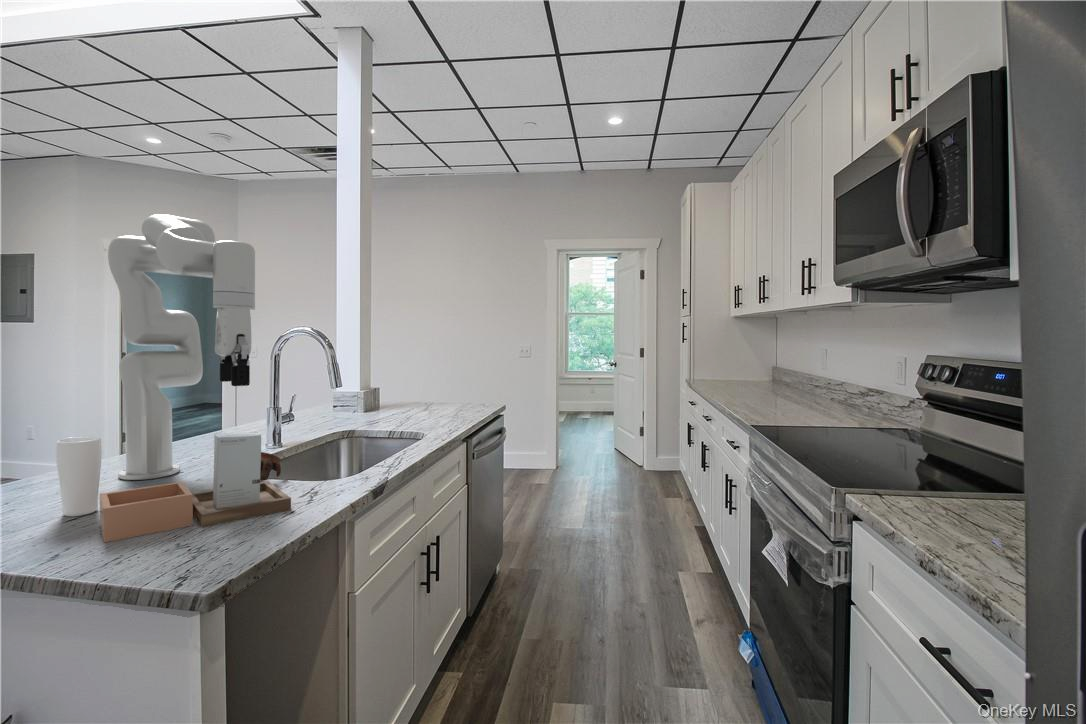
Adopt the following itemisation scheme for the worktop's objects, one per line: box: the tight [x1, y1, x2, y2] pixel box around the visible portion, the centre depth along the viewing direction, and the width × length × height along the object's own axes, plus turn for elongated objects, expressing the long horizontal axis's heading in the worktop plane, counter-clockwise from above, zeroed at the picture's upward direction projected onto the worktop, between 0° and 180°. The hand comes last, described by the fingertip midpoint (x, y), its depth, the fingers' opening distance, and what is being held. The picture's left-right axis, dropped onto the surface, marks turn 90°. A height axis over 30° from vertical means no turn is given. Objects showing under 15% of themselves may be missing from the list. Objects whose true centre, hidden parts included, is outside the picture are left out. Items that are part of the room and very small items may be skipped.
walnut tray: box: [191, 480, 292, 528], centre depth 109 cm, size 16×16×2 cm
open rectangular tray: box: [99, 481, 194, 543], centre depth 99 cm, size 11×13×6 cm
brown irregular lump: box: [260, 451, 282, 482], centre depth 130 cm, size 12×10×8 cm
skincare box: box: [212, 431, 262, 509], centre depth 109 cm, size 8×6×15 cm
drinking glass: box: [55, 435, 103, 517], centre depth 104 cm, size 7×7×15 cm
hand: (234, 383), depth 109 cm, fingers open, 9 cm apart
